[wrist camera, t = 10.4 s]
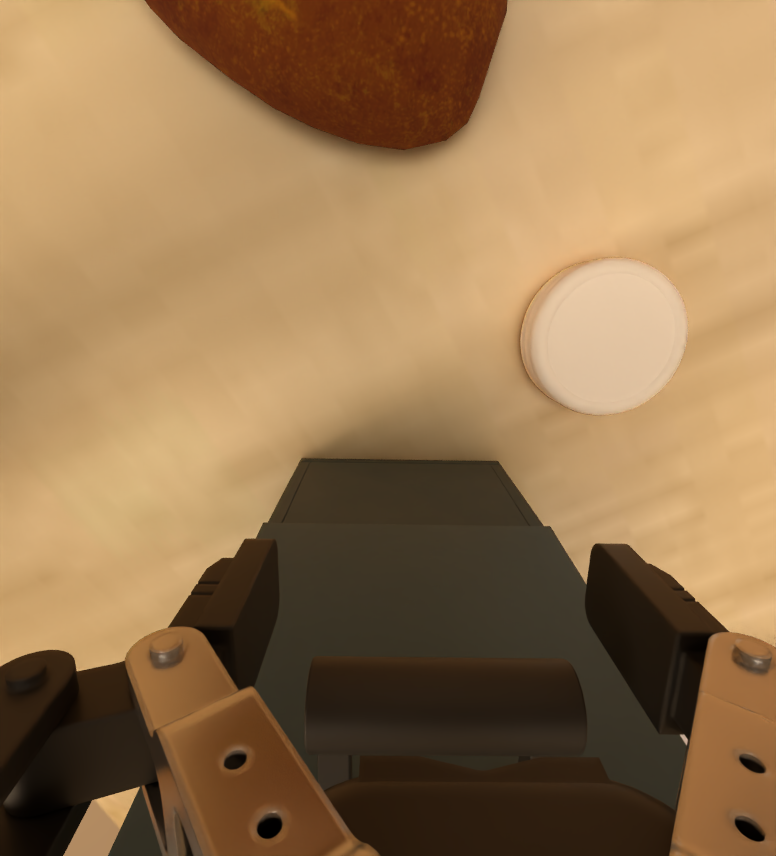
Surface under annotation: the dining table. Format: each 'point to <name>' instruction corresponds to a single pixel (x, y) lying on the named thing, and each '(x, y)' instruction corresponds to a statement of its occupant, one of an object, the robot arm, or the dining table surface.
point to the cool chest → (402, 494)
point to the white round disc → (604, 335)
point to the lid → (440, 658)
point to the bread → (351, 60)
